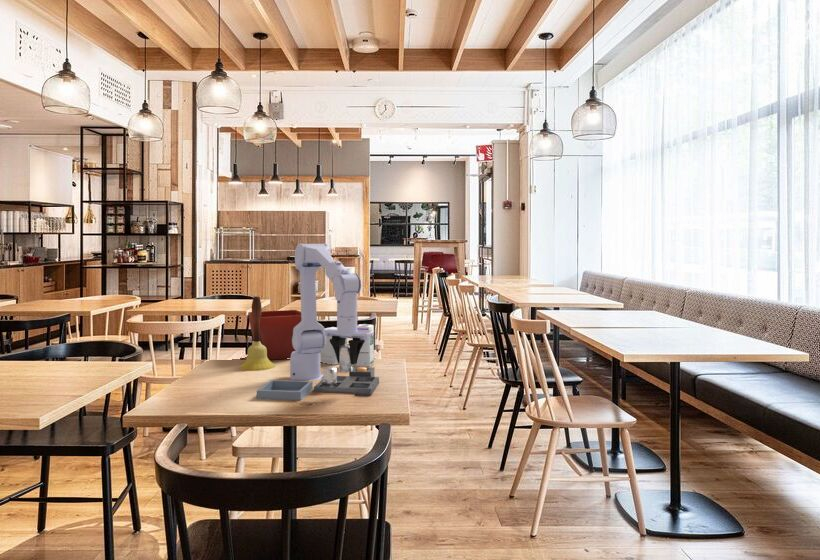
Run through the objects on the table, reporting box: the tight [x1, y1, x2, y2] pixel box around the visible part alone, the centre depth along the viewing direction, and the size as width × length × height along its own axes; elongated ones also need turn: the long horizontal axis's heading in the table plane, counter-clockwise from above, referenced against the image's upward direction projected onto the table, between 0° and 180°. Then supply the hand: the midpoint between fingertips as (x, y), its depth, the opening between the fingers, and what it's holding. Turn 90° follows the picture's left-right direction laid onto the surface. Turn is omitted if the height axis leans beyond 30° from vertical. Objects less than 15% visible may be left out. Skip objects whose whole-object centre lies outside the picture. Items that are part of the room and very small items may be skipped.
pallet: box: [313, 375, 380, 396], centre depth 184 cm, size 17×15×2 cm
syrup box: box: [354, 323, 375, 367], centre depth 218 cm, size 6×6×14 cm
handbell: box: [239, 296, 276, 372], centre depth 213 cm, size 12×12×25 cm
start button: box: [357, 366, 367, 371], centre depth 197 cm, size 3×3×3 cm
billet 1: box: [322, 366, 338, 387], centre depth 181 cm, size 4×4×7 cm
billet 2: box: [338, 344, 354, 373], centre depth 173 cm, size 4×4×7 cm
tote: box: [256, 379, 314, 402], centre depth 175 cm, size 13×13×3 cm
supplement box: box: [320, 326, 348, 366], centre depth 222 cm, size 7×7×13 cm
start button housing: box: [348, 366, 375, 377], centre depth 197 cm, size 7×7×3 cm
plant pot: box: [247, 309, 305, 361], centre depth 232 cm, size 19×19×17 cm
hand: (347, 363), depth 174 cm, fingers closed on billet 2, 4 cm apart
